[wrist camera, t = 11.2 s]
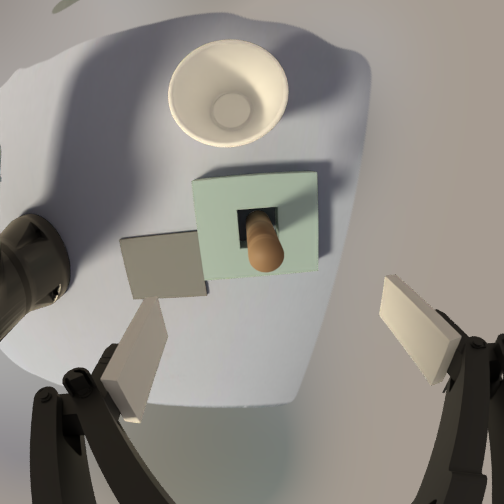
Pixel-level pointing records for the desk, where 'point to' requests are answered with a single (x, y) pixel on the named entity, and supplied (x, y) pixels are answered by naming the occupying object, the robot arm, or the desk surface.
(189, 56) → the cup
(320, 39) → the desk surface
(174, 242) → the mat
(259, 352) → the desk surface
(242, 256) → the socket block
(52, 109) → the desk surface
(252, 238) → the peg
